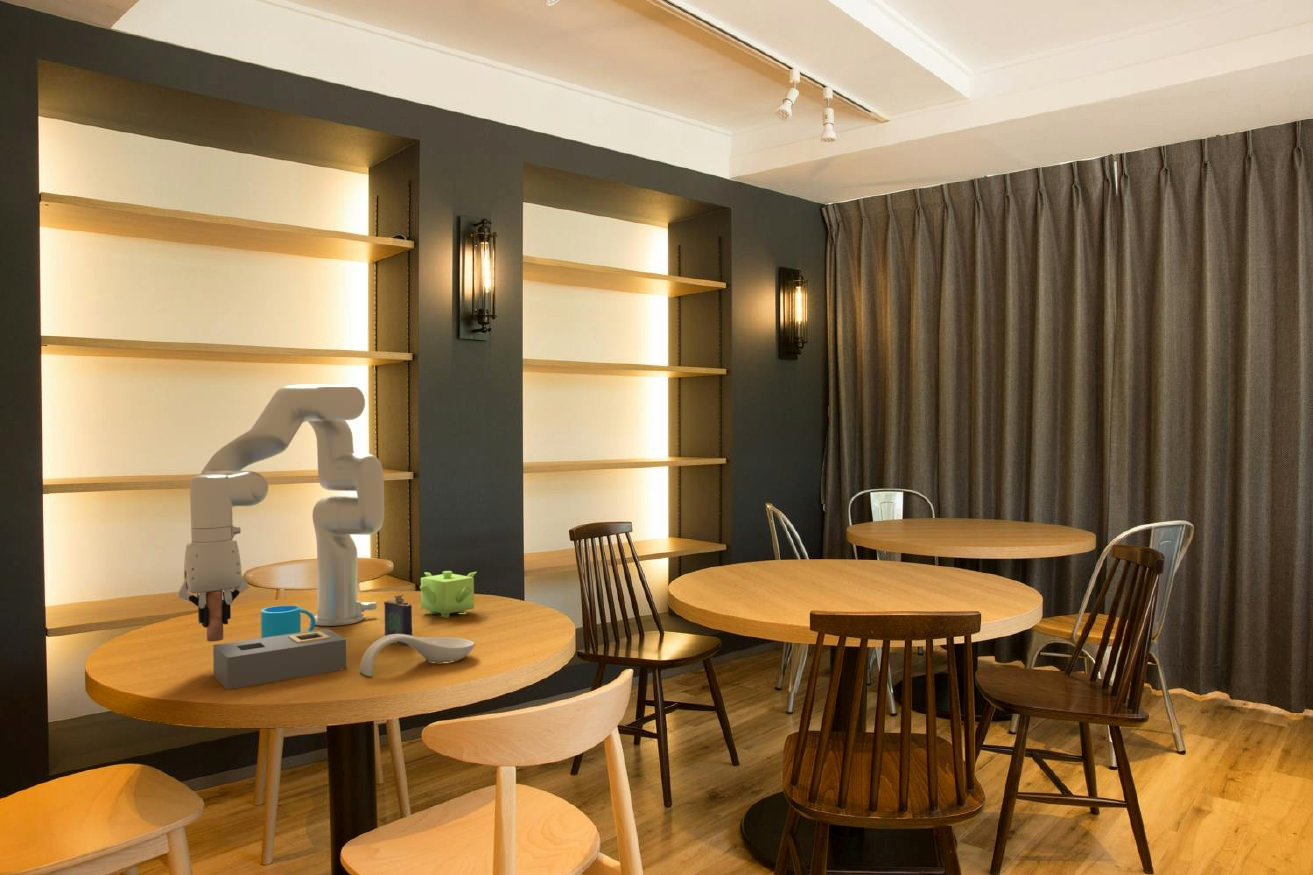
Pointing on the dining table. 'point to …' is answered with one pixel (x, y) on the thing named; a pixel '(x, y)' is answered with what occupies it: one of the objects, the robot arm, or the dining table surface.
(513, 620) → the dining table surface
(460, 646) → the spoon rest
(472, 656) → the dining table surface
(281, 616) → the mug
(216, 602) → the pin
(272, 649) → the bore block
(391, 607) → the flask
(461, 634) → the dining table surface
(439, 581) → the green block with protrusions
